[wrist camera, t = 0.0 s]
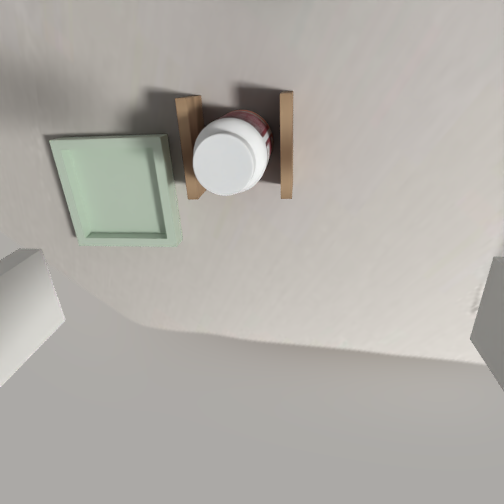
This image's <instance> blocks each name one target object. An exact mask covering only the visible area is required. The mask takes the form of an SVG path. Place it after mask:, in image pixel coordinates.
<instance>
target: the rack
mask: <svg viewBox="0 0 504 504" xmlns="http://www.w3.org/2000/svg"><path fill="white" fill-rule="evenodd" d="M175 103H176V110H177V118H178V126H179V133H180V141H181V149H182V156H183V164H184V172H185V179H186V187H187V195H188V199H199V198H200V196H201V195H202V194H203V193H204V192H205V191H206V189H205V188H204V187H203V186H202V185H201V184H200V183H199V181H198V180H197V178H196V176H195V173H194V169H193V152H194V145H195V142H196V139H197V137H198V135H199V134H200V132H201V131H202V130H203V129H204V121H203V111H202V101H201V96H188V97H181V98H175ZM280 159H281V199H292V188H293V91H285V92H281V93H280Z"/></svg>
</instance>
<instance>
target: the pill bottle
mask: <svg viewBox="0 0 504 504" xmlns="http://www.w3.org/2000/svg"><path fill="white" fill-rule="evenodd" d="M272 149H273V136H272V132H271V129H270V127H269V125H268V124H267V122H266V121H265V120H264V119H263V118H262V117H261V116H260V115H258V114H256V113H255V112H252V111H249V110H235V111H232V112H229V113H227V114H226V115H224V116H222V117H220V118H218V119H217V120H215V121H213V122H211V123H210V124H208V125H207V126H206V127H205V128H204V129H203V130H202V131H201V132H200V134H199V135H198V137H197V139H196V142H195V145H194V152H193V169H194V173H195V176H196V178H197V180H198V181H199V183H200V184H201V185H202V186H203V187H204V188H205V189H206V190H208V191H210V192H211V193H214V194H217V195H221V196H229V195H234V194H236V193H241V192H244V191H246V190H248V189H250V188H252V187H253V186H254V185H255V184H256V183H257V182H258V181H259V180H260V179H261V177H262V175H263V174H264V172H265V169H266V166H267V164H268V161H269V158H270V156H271V153H272Z"/></svg>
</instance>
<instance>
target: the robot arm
mask: <svg viewBox="0 0 504 504" xmlns="http://www.w3.org/2000/svg"><path fill="white" fill-rule="evenodd" d="M64 321H65V317H64V314H63V311H62V308H61V305H60V302H59V299H58V296H57V294H56V290H55V287H54V284H53V282H52V278H51V276H50V273H49V270H48V267H47V264H46V261H45V258H44V255H43V252H42V249H18V250H16V251H15V252H13V253H12V254H10V255H8V256H6V257H5V258H3V259H1V260H0V387H1V386H2V385H3V384H4V383H5V382H6V381H7V380H8V379H9V378H10V377H11V376H12V375H13V374H14V373H15V372H16V371H17V370H18V369H19V368H20V367H21V366H22V365H23V364H24V363H25V361H26V360H27V359H28V358H29V357H30V356H31V355H32V354H33V353H34V352H35V351H36V350H37V349H38V348H39V347H40V346H41V345H42V344H43V343H44V342H45V341H46V340H47V339H48V338H49V337H50V336H51V335H52V334H53V333H54V332H55V331H56V330H57V329H58V328H59V327H60V326H61V325H62V324H63V323H64ZM470 340H471V341H472V343H473V344H474V346H475V348H476V349H477V351H478V352H479V354H480V355H481V357H482V358H483V360H484V361H485V363H486V364H487V366H488V368H489V369H490V371H491V372H492V374H493V375H494V377H495V378H496V380H497V381H498V383H499V385H500V386H501V388H502V389H503V391H504V257H493V261H492V264H491V268H490V271H489V275H488V278H487V281H486V285H485V288H484V292H483V295H482V299H481V302H480V306H479V309H478V313H477V316H476V319H475V323H474V326H473V330H472V333H471V337H470Z"/></svg>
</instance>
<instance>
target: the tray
mask: <svg viewBox="0 0 504 504" xmlns="http://www.w3.org/2000/svg"><path fill="white" fill-rule="evenodd" d="M49 142H50V146H51V149H52V153H53V156H54V160H55V163H56V167H57V170H58V173H59V177H60V180H61V184H62V187H63V191H64V194H65V198H66V201H67V205H68V208H69V212H70V215H71V219H72V222H73V226H74V229H75V233H76V236H77V239H78V243H79V246H145V247H177V246H178V245H179V244H180V242H181V241H182V240H183V239H182V232H181V225H180V218H179V211H178V204H177V197H176V190H175V183H174V177H173V170H172V163H171V156H170V149H169V142H168V135H167V134H151V135H121V136H90V137H61V138H57V139H53V140H49Z"/></svg>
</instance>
